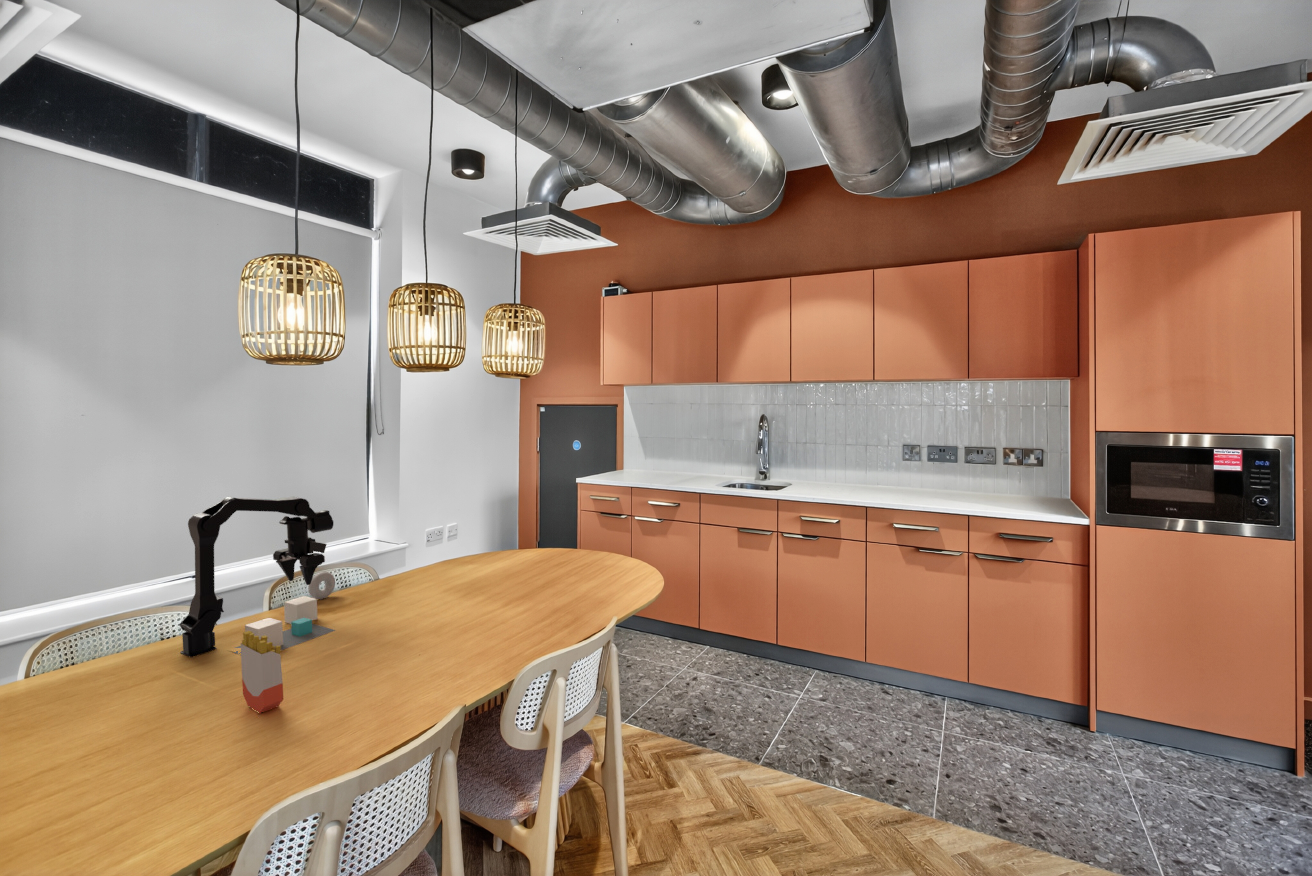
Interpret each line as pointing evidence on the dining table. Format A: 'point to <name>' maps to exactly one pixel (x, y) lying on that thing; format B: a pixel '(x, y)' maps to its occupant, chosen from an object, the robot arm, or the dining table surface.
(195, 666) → the dining table surface
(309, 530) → the robot arm
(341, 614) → the dining table surface
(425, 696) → the dining table surface
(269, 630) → the white cube
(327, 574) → the donut
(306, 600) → the closed white box
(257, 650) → the french fries container
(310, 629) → the cube
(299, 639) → the mat
